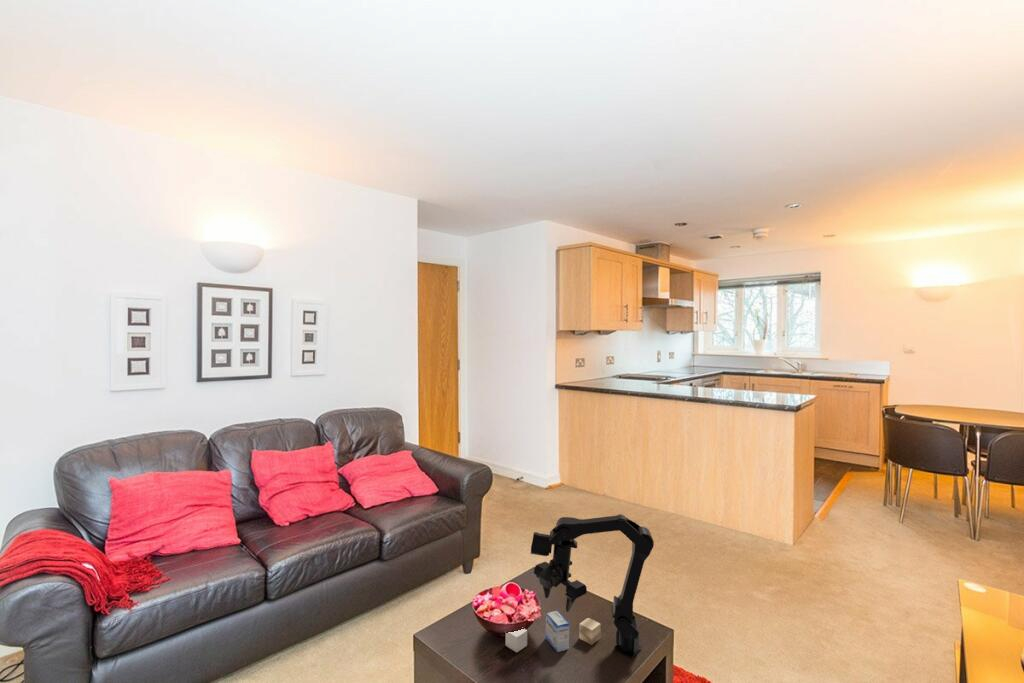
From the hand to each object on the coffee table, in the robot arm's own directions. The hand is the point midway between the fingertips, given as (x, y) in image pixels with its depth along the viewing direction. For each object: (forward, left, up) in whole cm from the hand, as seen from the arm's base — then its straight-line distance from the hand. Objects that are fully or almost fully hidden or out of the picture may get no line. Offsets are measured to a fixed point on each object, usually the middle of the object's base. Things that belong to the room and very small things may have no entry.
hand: (557, 604), depth 157 cm
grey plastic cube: (+8, +11, -13) cm, 18 cm away
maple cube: (-7, -9, -13) cm, 17 cm away
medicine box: (-1, +1, -13) cm, 13 cm away
